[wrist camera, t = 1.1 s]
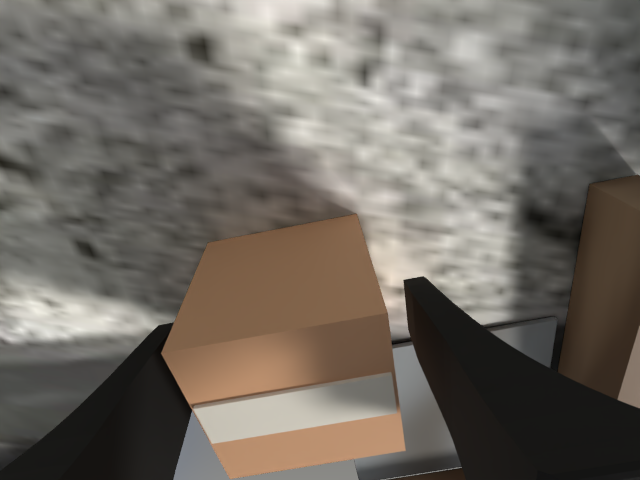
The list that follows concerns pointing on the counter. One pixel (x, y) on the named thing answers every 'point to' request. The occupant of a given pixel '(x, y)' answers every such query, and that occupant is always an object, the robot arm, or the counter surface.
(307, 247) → the cube
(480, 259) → the counter surface
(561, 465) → the robot arm
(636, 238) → the corner frame
